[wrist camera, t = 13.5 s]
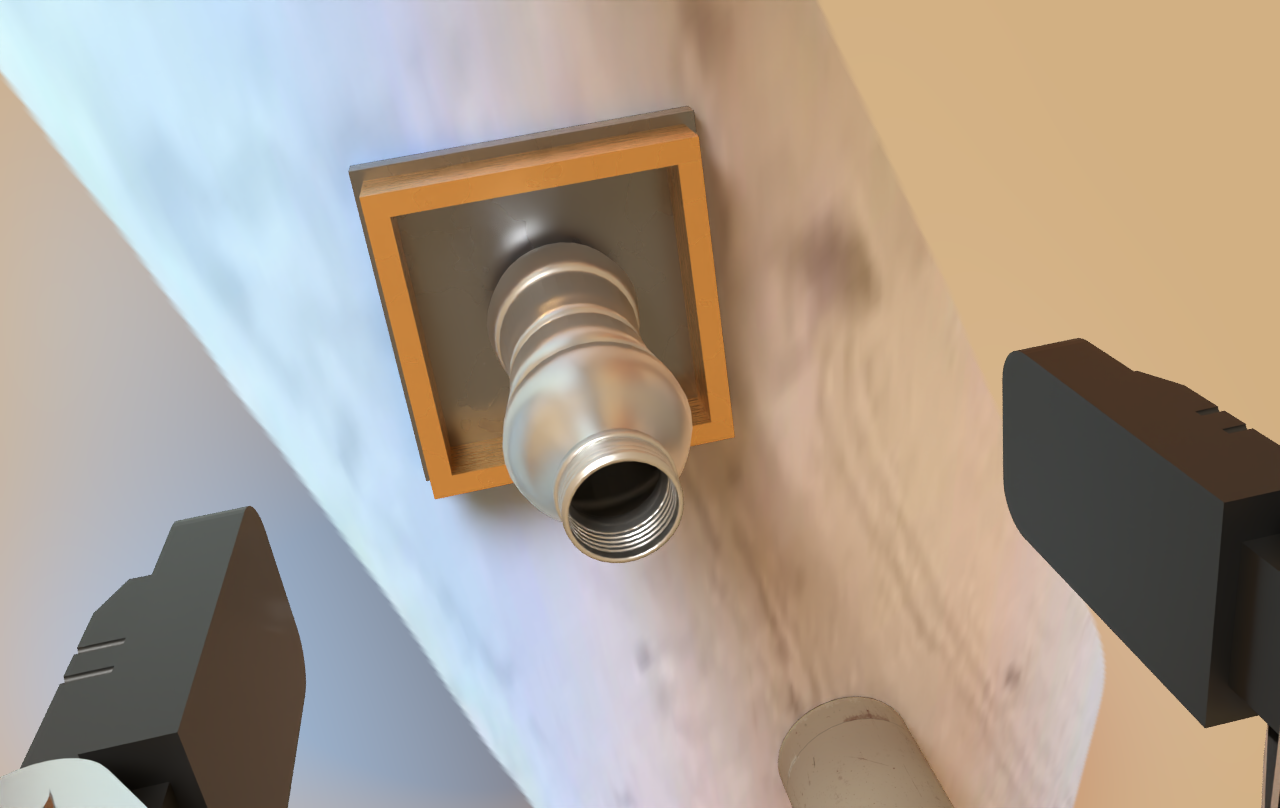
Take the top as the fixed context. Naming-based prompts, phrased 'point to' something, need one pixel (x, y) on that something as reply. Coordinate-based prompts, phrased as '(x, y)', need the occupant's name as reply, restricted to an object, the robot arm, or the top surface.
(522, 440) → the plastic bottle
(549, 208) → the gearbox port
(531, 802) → the top surface
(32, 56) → the top surface
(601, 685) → the top surface
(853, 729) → the thermos bottle
